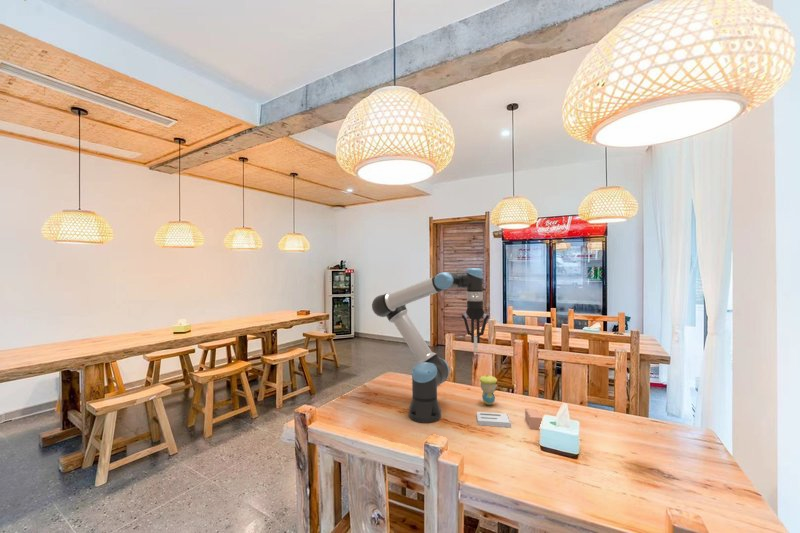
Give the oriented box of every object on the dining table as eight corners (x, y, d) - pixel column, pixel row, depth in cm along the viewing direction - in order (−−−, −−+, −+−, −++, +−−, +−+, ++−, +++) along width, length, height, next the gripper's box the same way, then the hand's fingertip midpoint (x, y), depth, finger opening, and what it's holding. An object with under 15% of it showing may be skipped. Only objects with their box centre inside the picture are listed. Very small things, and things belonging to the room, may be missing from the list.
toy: (499, 407, 158) (499, 377, 159) (481, 407, 158) (481, 377, 159) (495, 401, 166) (495, 372, 166) (478, 401, 166) (477, 372, 167)
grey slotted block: (478, 425, 140) (477, 420, 140) (476, 416, 149) (476, 411, 149) (511, 427, 138) (511, 422, 138) (507, 418, 147) (507, 413, 147)
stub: (529, 428, 137) (529, 416, 137) (525, 419, 145) (525, 408, 146) (542, 429, 136) (541, 417, 136) (536, 420, 145) (536, 408, 145)
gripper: (461, 300, 150) (461, 351, 150) (489, 301, 148) (490, 352, 147) (461, 299, 158) (461, 347, 157) (488, 299, 155) (488, 348, 155)
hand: (475, 349), depth 152 cm, fingers closed
